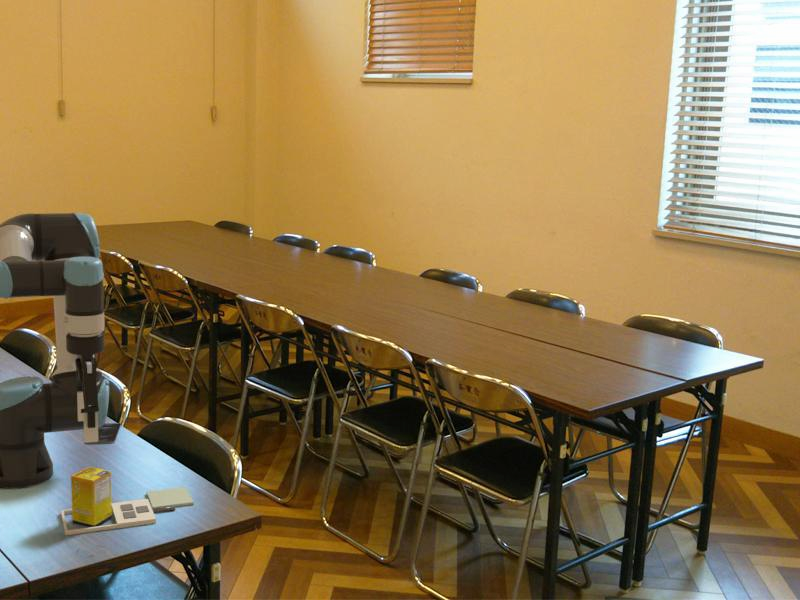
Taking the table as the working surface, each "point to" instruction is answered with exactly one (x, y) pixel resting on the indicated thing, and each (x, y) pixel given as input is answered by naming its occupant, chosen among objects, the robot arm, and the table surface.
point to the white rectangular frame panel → (123, 516)
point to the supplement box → (91, 497)
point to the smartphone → (107, 433)
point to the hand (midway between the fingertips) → (87, 430)
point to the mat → (170, 497)
